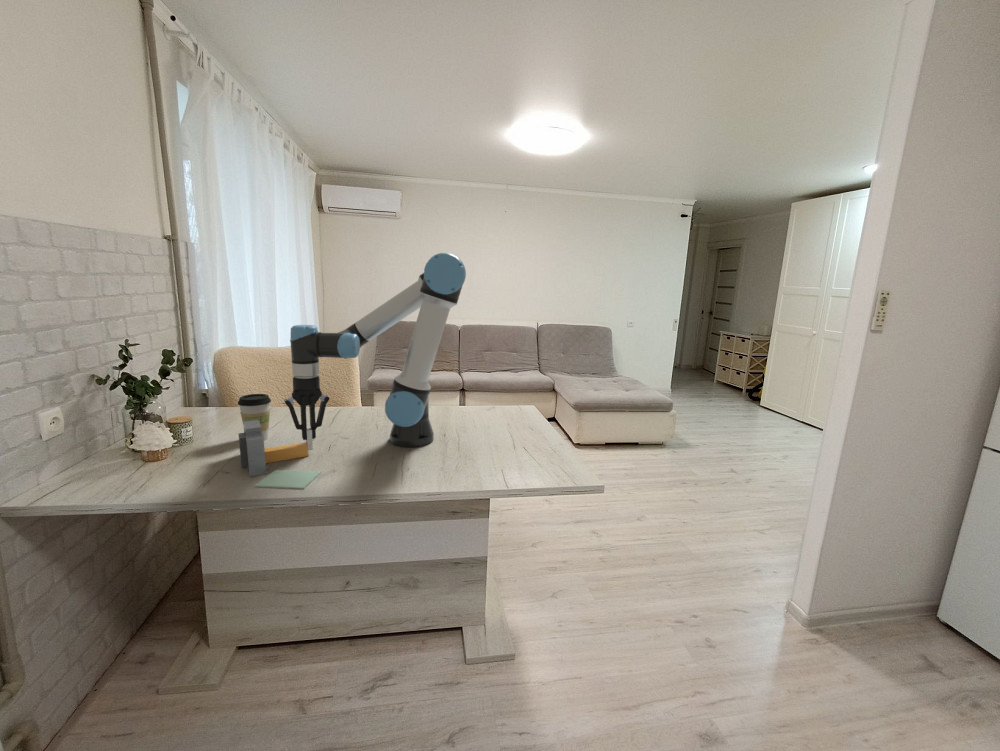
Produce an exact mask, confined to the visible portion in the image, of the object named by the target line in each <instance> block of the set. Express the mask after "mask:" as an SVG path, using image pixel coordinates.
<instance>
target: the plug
mask: <svg viewBox="0 0 1000 751" xmlns="http://www.w3.org/2000/svg"><path fill="white" fill-rule="evenodd" d="M237 434H238V442H239V456H240V465H241V469H245V468H248V457H247V445H246V434H245V433H244V432H239V433H237ZM264 450H265V463H266V464H268V463H274V462H279V461H287V460H291V459H292V460H293V459H299V458H305V457H309V450H308V445H307V443H306V441H305V442H299V443H293V444H292V443H291V444H285V445H278V446H272V447H264Z"/></svg>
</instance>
